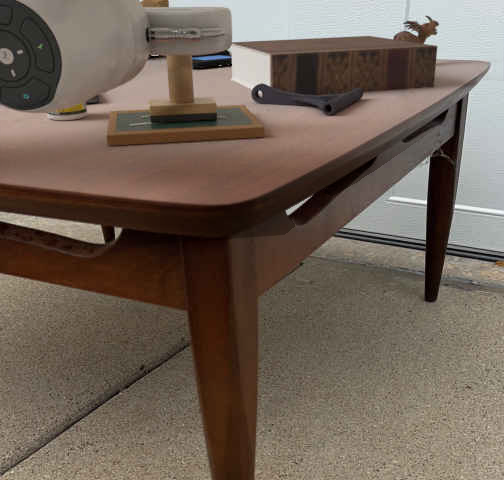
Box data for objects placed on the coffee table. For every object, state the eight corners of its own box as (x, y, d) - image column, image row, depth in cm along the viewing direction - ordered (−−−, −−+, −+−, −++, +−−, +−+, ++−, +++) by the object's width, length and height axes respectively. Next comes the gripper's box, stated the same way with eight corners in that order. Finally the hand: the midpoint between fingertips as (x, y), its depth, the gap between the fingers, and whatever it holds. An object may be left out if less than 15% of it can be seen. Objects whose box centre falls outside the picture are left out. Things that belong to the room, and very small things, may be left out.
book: (433, 88, 113) (437, 45, 110) (272, 99, 106) (272, 54, 103) (367, 71, 134) (369, 35, 132) (229, 80, 127) (228, 42, 124)
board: (107, 146, 77) (106, 134, 77) (111, 120, 92) (110, 110, 91) (264, 137, 80) (264, 126, 79) (244, 113, 94) (244, 103, 94)
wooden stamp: (150, 123, 83) (143, 34, 78) (150, 115, 87) (143, 31, 83) (217, 119, 84) (213, 31, 79) (213, 112, 88) (209, 29, 84)
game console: (195, 70, 141) (192, 22, 137) (159, 65, 151) (156, 20, 147) (253, 63, 150) (253, 18, 146) (216, 59, 159) (214, 17, 156)
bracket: (271, 95, 109) (271, 76, 107) (363, 99, 103) (364, 79, 102) (232, 111, 97) (231, 90, 96) (333, 116, 91) (334, 95, 90)
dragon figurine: (411, 61, 146) (414, 14, 142) (435, 63, 143) (440, 15, 139) (374, 68, 137) (377, 18, 134) (399, 70, 134) (403, 18, 130)
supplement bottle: (39, 118, 94) (28, 42, 90) (73, 112, 98) (63, 39, 94) (61, 122, 91) (51, 44, 87) (95, 116, 95) (86, 40, 91)
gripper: (216, -7, 55) (245, -11, 67) (-24, -5, 57) (46, -9, 70) (219, 76, 57) (246, 57, 70) (-11, 73, 60) (54, 56, 73)
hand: (144, 24), depth 70 cm, fingers open, 8 cm apart
